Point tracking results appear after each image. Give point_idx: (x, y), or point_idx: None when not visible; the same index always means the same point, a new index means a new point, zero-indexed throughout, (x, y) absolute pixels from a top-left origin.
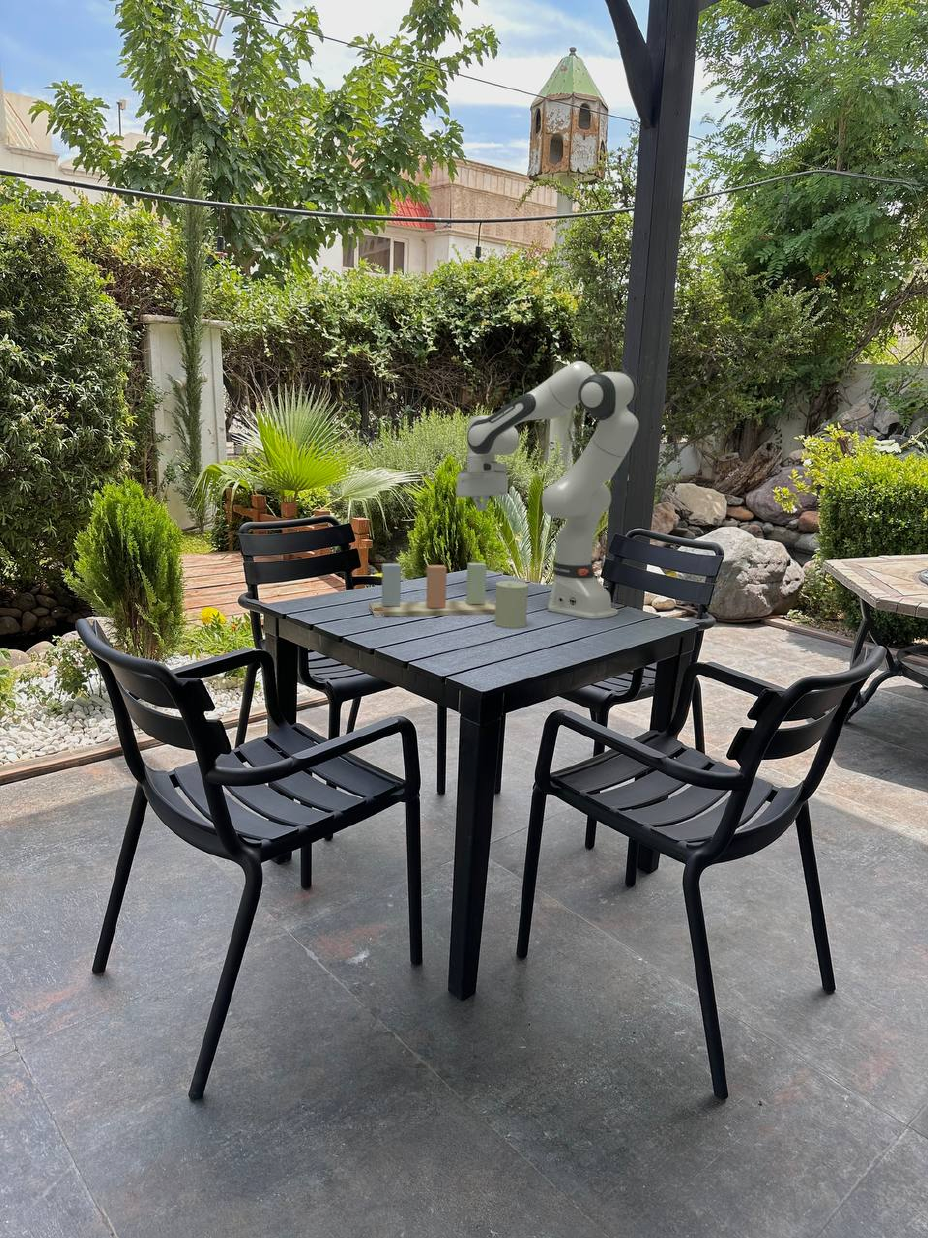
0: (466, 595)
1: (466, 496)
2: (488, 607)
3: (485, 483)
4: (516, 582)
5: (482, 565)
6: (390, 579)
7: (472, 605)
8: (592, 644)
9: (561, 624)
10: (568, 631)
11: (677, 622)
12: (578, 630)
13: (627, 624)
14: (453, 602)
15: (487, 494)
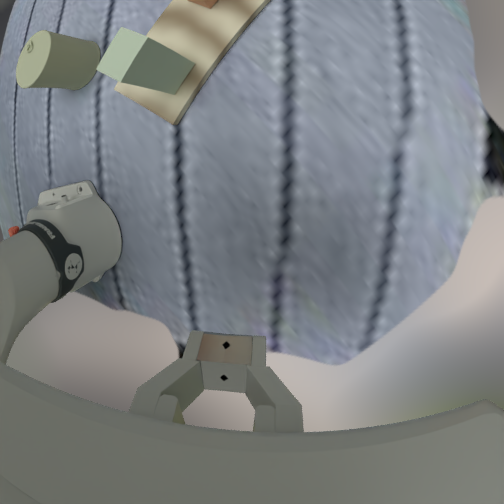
0: (188, 59)
1: (399, 422)
2: None
3: (42, 500)
4: (33, 76)
5: (103, 58)
6: None
7: None
8: (5, 104)
9: (45, 133)
10: (29, 116)
11: None
12: (26, 131)
13: (21, 209)
14: (213, 40)
15: (64, 395)
